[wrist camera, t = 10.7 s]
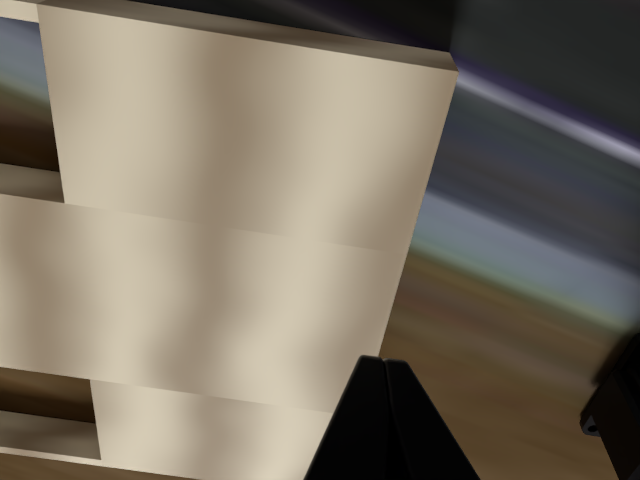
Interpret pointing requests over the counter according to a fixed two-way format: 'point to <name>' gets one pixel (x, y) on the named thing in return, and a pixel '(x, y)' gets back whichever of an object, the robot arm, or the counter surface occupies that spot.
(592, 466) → the counter surface
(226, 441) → the trap board
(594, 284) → the counter surface
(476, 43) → the counter surface
